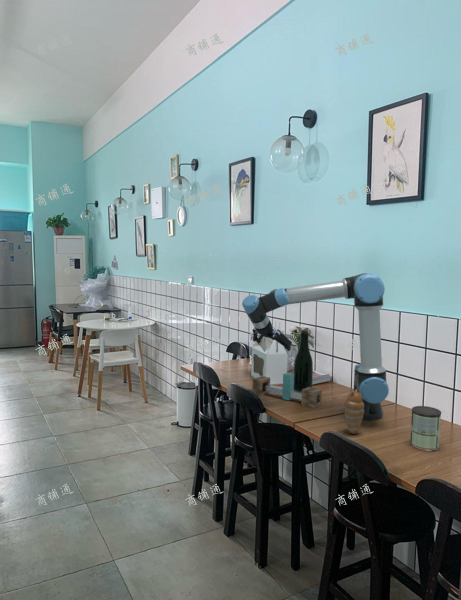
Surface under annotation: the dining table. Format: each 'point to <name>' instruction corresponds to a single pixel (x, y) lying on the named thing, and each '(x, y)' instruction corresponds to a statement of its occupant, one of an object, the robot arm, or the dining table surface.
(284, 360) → the gable box
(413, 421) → the coffee can
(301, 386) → the beer bottle
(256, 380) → the socket block
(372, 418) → the robot arm
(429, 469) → the dining table surface
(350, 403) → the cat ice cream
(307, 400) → the sleeve
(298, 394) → the grey and teal t-shape
